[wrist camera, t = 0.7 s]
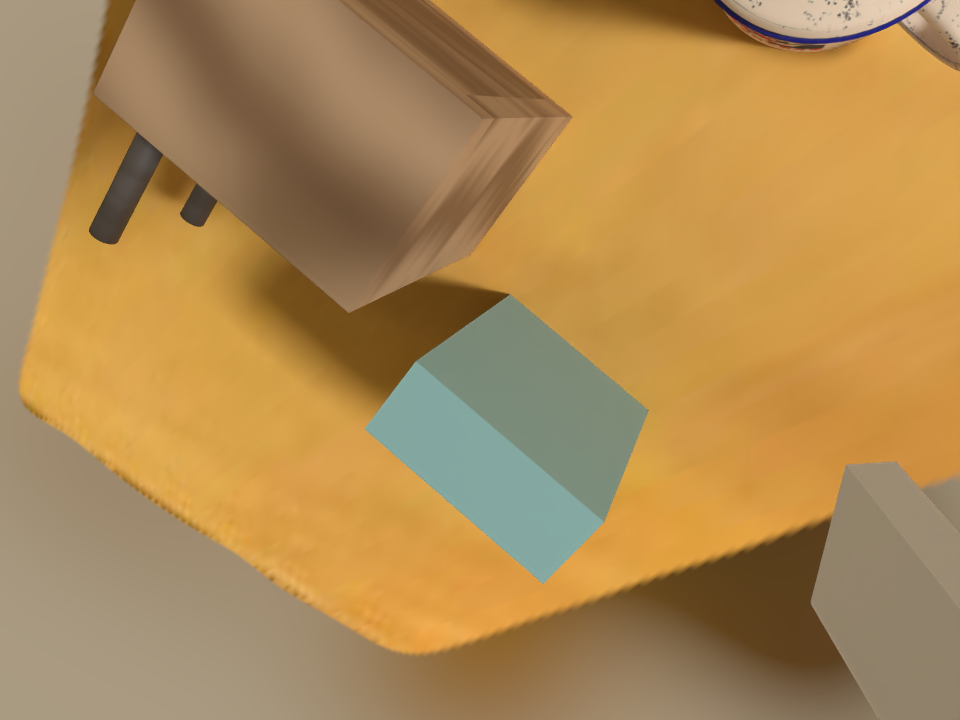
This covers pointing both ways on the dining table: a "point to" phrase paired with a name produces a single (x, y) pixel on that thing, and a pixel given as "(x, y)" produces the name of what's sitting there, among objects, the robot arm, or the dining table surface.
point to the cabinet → (326, 130)
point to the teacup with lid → (848, 23)
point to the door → (515, 433)
